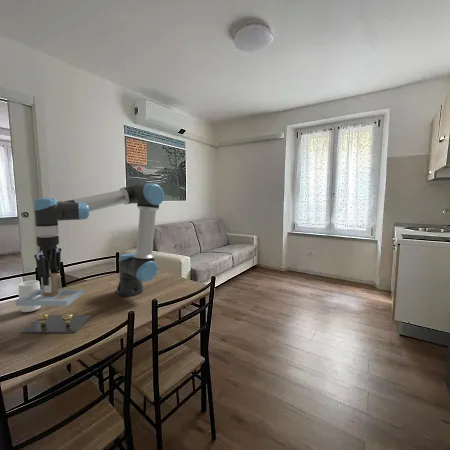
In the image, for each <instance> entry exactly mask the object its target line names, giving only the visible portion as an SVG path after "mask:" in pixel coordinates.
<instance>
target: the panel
mask: <svg viewBox="0 0 450 450" xmlns="http://www.w3.org/2000/svg"><path fill="white" fill-rule="evenodd" d="M49 277H51V283H52V292H51V293H44V285H43V284H42V288H40V289H37V290H35V291H33V292H31V293H29V294H27V295H25V296H24V297H22V298H20V299H19V298H17V299H16V300H15V306H17V307H18V306H19V307H20V306H41V307H43V306H44V307H45V306H46V307H47V306H48V307H50V306H51V307H52V306H53V307H55V306H56V307H58V306H59V307H68V306H69V305H70V304H71V303H73V302H74V301H76V300H77V299H78V298H80V297H81V296H82V295H84V290H83V289H59V283H58V273H51V272H50V276H49ZM38 295H41V296H39V297H37V298H36V299H32V298H34V297H36V296H38ZM62 296H64V297H62ZM60 297H62V298H61V299H60Z"/></svg>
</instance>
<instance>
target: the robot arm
mask: <svg viewBox="0 0 450 450" xmlns="http://www.w3.org/2000/svg"><path fill="white" fill-rule="evenodd" d="M164 198H165V193H164V189H162V187H161V186H160V185H159V184H157V183H152V182H147V183H146V182H145V183H143V182H141V183H136V184H132V185H128V186H124V187H120V188H119V189H118V190H114V191H110V192H109V191H108V192H103V193H98V194H93V195H90V196H89V195H88V196H83V197H80V198H79V197H78V198H74V199H69V200H64V201H62V200H60V201H57V199H56V198H54V197H52V198H50V197H42V198H41V197H37V198H35V199H34V202H33V203H34V205H33V208H34V209H33V211H34V219H35V223H34V224H35V233H36V234H35V236H37V237H36V246H37V247H38V248H39V253H38V254H34V257H33V258H34V259H35V261H36V262H35V263H36V269H37V270H36V271H37V278H40V279H41V278H42V286H43V285H44V293H51V292H52V283H51V277H49V276H50V273H57V274H60V273H61V269H62V268H61V266H62V264H61V261H62V259H61V257H62V256H61V255H62V254H61V253H62V248H60V247H58V245H59V244H60V236H59V234H60V233H59V232H60V231H59V221H60V222H61V221H81V220H86V219H88V218H89V216H90V212H94V211H98V210H102V209H106V208H109V207H115V206H119V205H123V204H124V205H132V204H136V207H137V208H138V210H139V218H138V228H137V238H136V239H137V242H136V251H135V252H131V253H124V254H121V255H120V256H119V258H118V269H119V272H118V273H119V281H118V284H117V287H116V294H117V295H118V296H120V297H121V296H122V297H132V296H137V295H140V294H142V293H143V292H144V283H143V282H145V283H147V282H149V281H152V280H153V279H154V278H155V277H156V276H157V274H158V271H159V267H158V264H157V263H156V262H155V254H154V253H153V252H154V251H153V249H154V240H155V239H154V238H155V225H156V216H157V215H156V213H157V211H158V210H159V209H160V205H161V204H162V202H164Z"/></svg>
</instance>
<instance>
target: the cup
mask: <svg viewBox="0 0 450 450" xmlns="http://www.w3.org/2000/svg"><path fill="white" fill-rule="evenodd" d="M37 289H41V284H40V281H39V280H36V279H34V280H33V279H32V280H26V281H23V282H20V283H19V284H18V299H20V298H22V297H24V296H25V295H27V294H29V293H31V292H33V291H35V290H37ZM39 296H42V295H38V296H36V297H34V298H32V299H36V298H37V297H39ZM41 307H42V306H19V308H20V311H21V312H23V313H30V312H33V311H37V310H38V309H40V308H41Z"/></svg>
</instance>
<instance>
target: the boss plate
mask: <svg viewBox="0 0 450 450" xmlns="http://www.w3.org/2000/svg"><path fill="white" fill-rule="evenodd" d="M92 317H93V316H92V315H91V314H89V315H87V314H85V315H83V314H80V315H74V314H73V313H72V312H69V313H68V312H65V313H64V314H61V315H59V314H58V315H55V314H49V313H48V312H43V313H39V314H38V315H37V316H36V320H34V322H32V323H31V324H29V325H28V326H27V327H25V328H24V329H23V330H21V331H20V333H21V334H75V333H77V332H78V331H79V330H80V329H81V328H82V327H83V326H84V325H85V324H86V323H87V322H89V320H90V319H91V318H92Z"/></svg>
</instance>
